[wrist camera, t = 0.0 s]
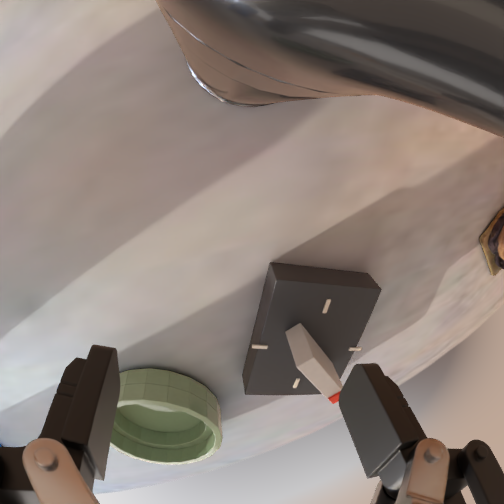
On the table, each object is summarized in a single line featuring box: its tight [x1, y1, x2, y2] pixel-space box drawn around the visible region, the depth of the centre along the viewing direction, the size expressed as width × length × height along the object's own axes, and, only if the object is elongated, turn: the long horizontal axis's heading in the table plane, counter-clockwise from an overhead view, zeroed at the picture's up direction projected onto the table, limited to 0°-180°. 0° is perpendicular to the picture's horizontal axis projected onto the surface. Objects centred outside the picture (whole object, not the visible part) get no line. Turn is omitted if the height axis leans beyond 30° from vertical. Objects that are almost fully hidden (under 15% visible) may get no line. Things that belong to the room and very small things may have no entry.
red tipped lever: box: [285, 323, 343, 404], centre depth 26 cm, size 7×2×5 cm, turn 34°
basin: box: [110, 368, 223, 465], centre depth 32 cm, size 15×15×5 cm
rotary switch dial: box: [242, 262, 381, 395], centre depth 30 cm, size 14×11×3 cm
